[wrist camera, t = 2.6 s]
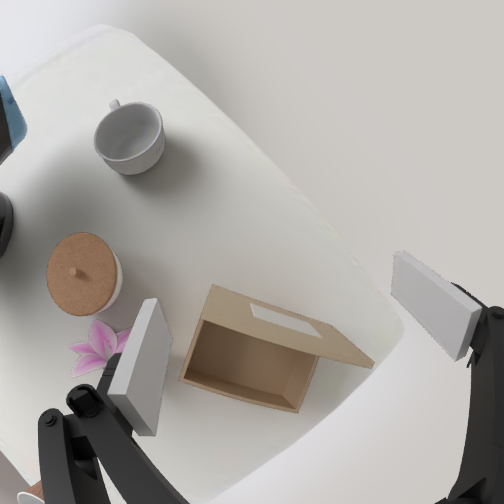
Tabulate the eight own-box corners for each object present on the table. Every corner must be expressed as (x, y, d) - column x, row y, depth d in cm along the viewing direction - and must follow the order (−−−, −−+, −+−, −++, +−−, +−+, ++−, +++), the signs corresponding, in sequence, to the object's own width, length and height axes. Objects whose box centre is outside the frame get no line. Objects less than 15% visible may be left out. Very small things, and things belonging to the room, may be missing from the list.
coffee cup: (73, 508, 26) (54, 539, 14) (35, 473, 26) (9, 498, 15) (98, 496, 29) (80, 531, 17) (58, 458, 29) (29, 486, 17)
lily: (173, 353, 38) (157, 326, 31) (134, 417, 31) (106, 406, 24) (114, 319, 41) (91, 287, 34) (77, 374, 34) (44, 352, 27)
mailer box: (283, 398, 39) (297, 413, 32) (182, 368, 37) (178, 380, 30) (308, 327, 42) (327, 330, 35) (209, 292, 40) (210, 289, 33)
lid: (369, 372, 22) (375, 361, 22) (198, 321, 21) (203, 308, 21) (327, 331, 35) (331, 323, 35) (209, 291, 33) (212, 282, 33)
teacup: (174, 170, 43) (169, 144, 35) (112, 192, 40) (96, 170, 33) (156, 110, 44) (151, 81, 37) (101, 129, 42) (89, 103, 34)
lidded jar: (88, 233, 38) (63, 215, 29) (143, 264, 39) (126, 252, 30) (60, 293, 36) (29, 288, 27) (113, 328, 37) (89, 333, 28)
